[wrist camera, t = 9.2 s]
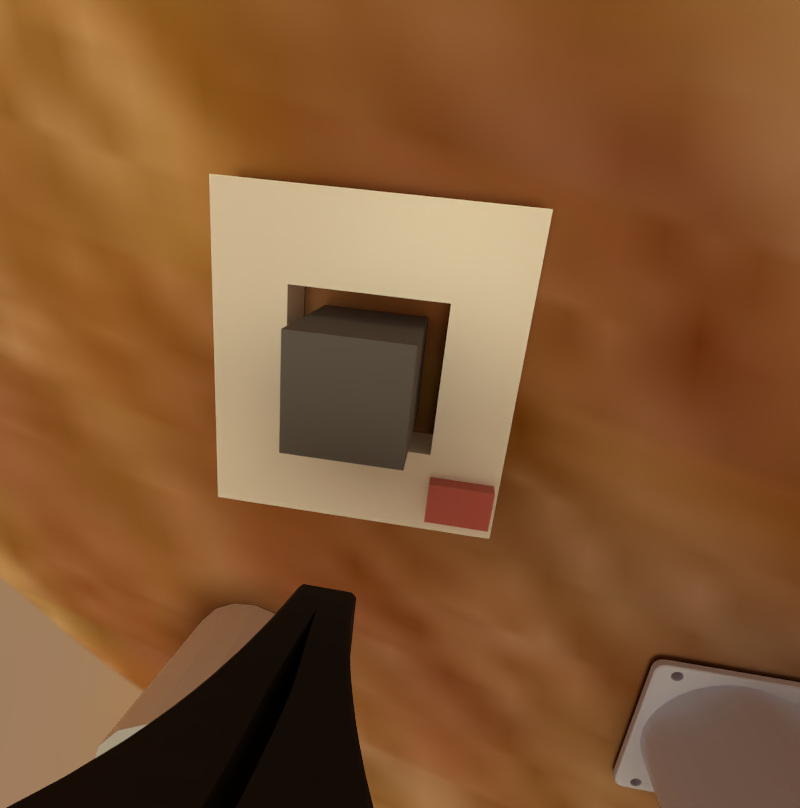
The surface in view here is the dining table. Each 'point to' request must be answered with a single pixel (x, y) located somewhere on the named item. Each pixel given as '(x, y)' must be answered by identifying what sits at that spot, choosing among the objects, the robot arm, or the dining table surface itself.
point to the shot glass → (191, 666)
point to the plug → (351, 385)
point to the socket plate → (381, 275)
